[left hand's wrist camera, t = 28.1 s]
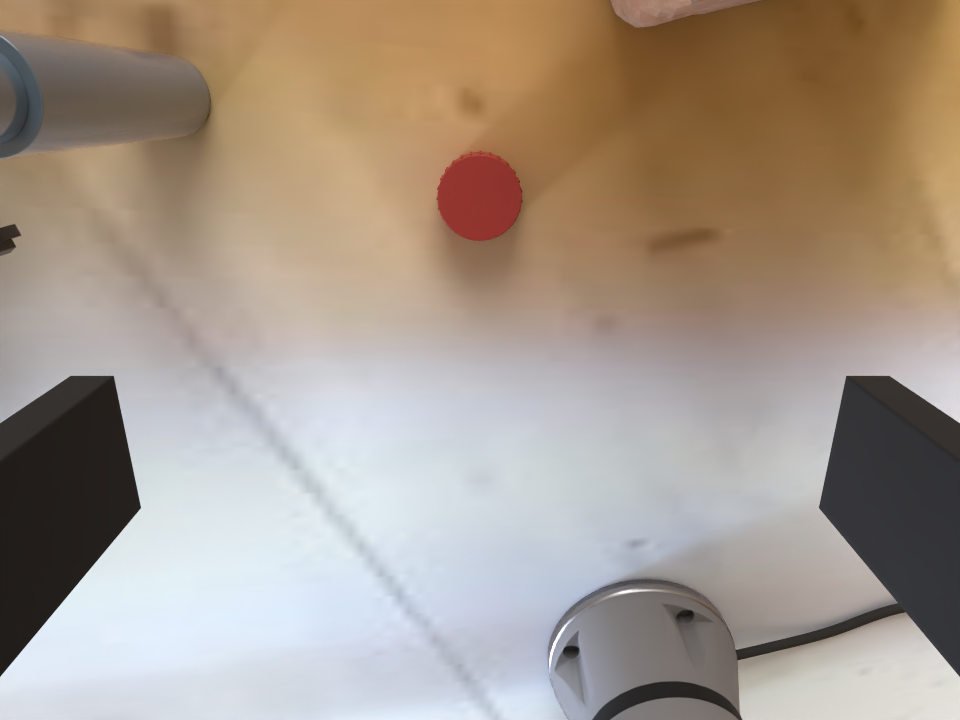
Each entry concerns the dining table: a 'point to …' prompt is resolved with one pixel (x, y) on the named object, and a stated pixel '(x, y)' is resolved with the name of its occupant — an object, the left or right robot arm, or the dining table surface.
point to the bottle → (92, 95)
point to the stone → (667, 9)
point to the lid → (479, 196)
